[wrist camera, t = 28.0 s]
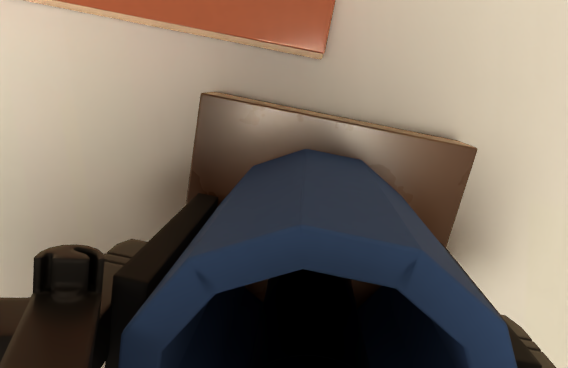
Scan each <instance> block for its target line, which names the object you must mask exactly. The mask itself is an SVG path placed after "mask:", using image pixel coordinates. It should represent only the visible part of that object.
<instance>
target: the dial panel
mask: <svg viewBox="0 0 568 368" xmlns="http://www.w3.org/2000/svg"><path fill="white" fill-rule="evenodd" d="M24 1H29V2H34V3H39V4H44V5H49V6H54V7H59V8H64V9H69V10H74V11H79V12H84V13H89V14H94V15H99V16H104V17H109V18H114V19H119V20H124V21H129V22H134V23H139V24H144V25H149V26H154V27H159V28H164V29H169V30H174V31H179V32H184V33H189V34H194V35H199V36H204V37H210V38H215V39H220V40H225V41H230V42H235V43H240V44H245V45H250V46H255V47H260V48H265V49H270V50H275V51H280V52H285V53H290V54H295V55H300V56H305V57H310V58H315V59H320V60H321V59H322V57H323V55H324V53H325V48H326V43H327V38H328V34H329V29H330V24H331V19H332V15H333V10H334V5H335V0H24Z"/></svg>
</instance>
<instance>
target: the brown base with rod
mask: <svg viewBox="0 0 568 368" xmlns="http://www.w3.org/2000/svg"><path fill="white" fill-rule="evenodd" d="M303 149H310V150H315V151H320V152H325V153H330V154H334V155H339V156H344V157H349V158H354V159H359V160H362V161H363V162H364V163H365V164H367V165H368V166H369V167H370V168H371V169H372V170H373V171H374V172H375V173H377V174H378V175H379V176H380V177H381V178H382V179H383V180H384V181H385V182H387V183H388V184H389V185H390V186H391V187H392V188H393V189H394V190H395V191H397V192H398V193H399V194H400V195H401V196H402V197H403V198H404V200H405V201H406V202H407V203H408V204H409V206H410V207H411V208H412V209H413V210H414V212H415V213H416V214H417V215H418V217H419V218H420V219H421V220H422V221H423V223H424V224H425V225H426V226H427V228H428V229H429V230H430V231H431V232H432V234H433V235H434V236H435V237H436V239H437V240H438V241H439V242H440V243H442V244H443V245H444V247H445V248H446V245H447V242H448V239H449V236H450V233H451V230H452V227H453V224H454V221H455V217H456V214H457V211H458V208H459V205H460V202H461V199H462V196H463V193H464V190H465V187H466V183H467V180H468V177H469V174H470V171H471V168H472V165H473V162H474V159H475V156H476V153H477V148H475V147H473V146H470V145H467V144H465V143H462V142H460V141H457V140H452V139H447V138H442V137H437V136H432V135H427V134H422V133H417V132H412V131H407V130H402V129H397V128H392V127H387V126H382V125H377V124H372V123H367V122H362V121H357V120H353V119H348V118H343V117H338V116H333V115H328V114H323V113H318V112H313V111H308V110H303V109H298V108H293V107H288V106H283V105H278V104H273V103H268V102H263V101H258V100H253V99H248V98H243V97H238V96H233V95H228V94H223V93H218V92H207V93H201V96H200V103H199V111H198V118H197V126H196V133H195V140H194V148H193V155H192V163H191V170H190V177H189V185H188V192H187V200H186V205H187V204H188V203H189V202H190V201H191V200H192V199H193V198H194V197H195V196H196V195H197V194H198V193H201V194H206V195H211V196H216V197H218V203H217V207H218V205H219V204H220V203H221V202H222V201H223V200H224V198H225V197H226V196H227V195H228V194H229V193H230V192H231V190H232V189H233V188H234V187H235V186H236V185H237V184H238V182H239V181H240V180H241V179H242V178H243V177H244V176H245V174H246V173H247V172H248V171H249V170H250V169H251V168H252V167H253V166H254V165H257V164H261V163H264V162H267V161H270V160H273V159H276V158H279V157H282V156H285V155H288V154H291V153H294V152H297V151H300V150H303ZM380 287H381V285H376V284H372V283H367V282H362V281H357V280H352V279H348V278H343V277H338V276H333V275H328V274H324V273H319V272H314V271H309V270H305V269H301V270H298V271H294V272H291V273H287V274H284V275H280V276H277V277H273V278H270V279H266V280H263V281H259V282H255V283H252V284H248V285H245V288H246V289H247V290H248V291H249V292H250V293H252V294H253V295H254V296H255V297H257V298H258V299H259V300H260V301H261V302H263V308H262V312H261V317H260V322H259V326H258V331H257V336H256V340H255V345H254V350H253V354H252V359H251V364H250V368H369V364H368V360H367V355H366V350H365V345H364V341H363V336H362V331H361V326H360V321H359V317H358V312H357V308H359V307H360V306H361V305H362V304H363V303H364V302H365V301H366V300H367V299H368V298H369V297H370V296H371V295H373V294H374V293H375V292H376V291H377V290H378V289H379V288H380Z"/></svg>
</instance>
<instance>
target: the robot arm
mask: <svg viewBox="0 0 568 368" xmlns="http://www.w3.org/2000/svg"><path fill="white" fill-rule="evenodd" d="M217 203H218V197H216V196H211V195H206V194H201V193H198V194H197V195H196V196H195V197H194V198H193V199H192V200H191V201H190V202H189V203H188V204H187V205H186V206H185V207H184V208H183V209H182V210H181V211H180V212H179V213H178V214H176V215H175V216H174V217H173V218H172V219H171V220H170V221H169V222H168V223H167V224H166V225H165V226H164V227H163V228H162V229H161V230H160V231H159V232H158V233H157V234H156V235H155V236H154V237H153V238H152V239H151V240H150V241H148V242H145V241H140V240H135V239H130V240H127V241H124V242H122V243H119V244H117V245H115V246H114V247H113V248H112V249H111V250H109V251H108V252H107V254H103V253H102V252H101V251H99V250H98V249H96V248H93V247H89V246H84V245H61V246H56V247H51V248H48V249H46V250H44V251H41V252H39V253H38V254H37V255H36V256H35V257H34V275H33V294H32V296H31V297H29V298H0V368H101V366H102V365H103V364H104V362H105V361H106V363H105V368H118V364H119V354H120V344H121V334H122V333H123V330H124V328H125V327H126V326H127V325H128V323H129V322H130V321H131V319H132V318H133V317H134V315H135V314H136V313H137V311H138V310H139V309H140V308H141V306H142V305H143V304H144V302H145V301H146V300H147V298H148V297H149V296H150V294H151V293H152V292H153V291H154V289H155V288H156V287H157V285H158V284H159V283H160V281H161V280H162V279H163V277H164V276H165V275H166V274H167V272H168V271H169V270H170V268H171V267H172V266H173V264H174V263H175V262H176V260H177V259H178V258H179V257H180V255H181V254H182V253H183V251H184V250H185V249H186V247H187V246H188V245H189V243H190V242H191V241H192V240H193V238H194V237H195V236H196V234H197V233H198V232H199V230H200V229H201V228H202V226H203V225H204V224H205V223H206V221H207V220H208V219H209V217H210V216H211V215H212V213H213V212H214V211H215V209H216V208H217ZM441 245H442V246H443V247H444V245H443V244H442V243H441ZM444 248H445V247H444ZM445 249H446V248H445ZM446 251H447V252H448V250H447V249H446ZM448 253H449V252H448ZM449 254H450V253H449ZM450 256H451V257H452V258H453V256H452V255H451V254H450ZM453 259H454V258H453ZM454 260H455V259H454ZM455 262H456V263H457V264H458V262H457V261H456V260H455ZM458 265H459V264H458ZM459 267H460V268H461V269H462V267H461V266H460V265H459ZM462 270H463V269H462ZM463 271H464V270H463ZM464 273H465V274H466V275H467V273H466V272H465V271H464ZM467 276H468V275H467ZM468 277H469V276H468ZM469 279H470V280H471V278H470V277H469ZM471 281H472V280H471ZM472 282H473V281H472ZM473 284H474V285H475V286H476V284H475V283H474V282H473ZM476 287H477V286H476ZM477 288H478V287H477ZM478 290H479V291H480V289H479V288H478ZM480 292H481V291H480ZM481 293H482V292H481ZM482 295H483V296H484V297H485V295H484V294H483V293H482ZM485 298H486V297H485ZM486 299H487V298H486ZM487 301H488V302H489V300H488V299H487ZM489 303H490V302H489ZM490 304H491V303H490ZM491 306H492V307H493V308H494V306H493V305H492V304H491ZM494 309H495V308H494ZM495 310H496V309H495ZM496 312H497V313H498V311H497V310H496ZM498 314H499V313H498ZM499 315H500V314H499ZM500 316H501V318H502V319H503V320H504V321H505V323H506V325H507V327H508V331H509V335H510V339H511V344H512V348H513V352H514V356H515V360H516V364H517V368H556V367H555V366H554V365H553V363H552V362H551V361H550V360H549V359H548V358H547V356H546V355H545V354H544V353H543V352H541V350H540V348H539V347H538V346H537V345H536V344H535V343H534V342H532V339H531V338H530V337H529V336H528V334H527V333H526V332H525V331H524V330H523V329H522V328H521V327H520V326H519V325H518V324H516V323H515V322H513V321H512V320H511V319H509V318H508V317H507V316H505V315H500Z"/></svg>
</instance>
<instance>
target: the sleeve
mask: <svg viewBox="0 0 568 368" xmlns="http://www.w3.org/2000/svg"><path fill="white" fill-rule="evenodd" d="M301 269H305V270H309V271H314V272H319V273H324V274H328V275H333V276H338V277H343V278H348V279H352V280H357V281H362V282H367V283H372V284H376V285H381V287H380V288H379V289H378V290H377V291H376V292H375V293H374V294H373V295H371V296H370V297H369V298H368V299H367V300H366V301H365V302H364V303H363V304H362V305H361V306H360V307H359V308H357V312H358V317H359V321H360V326H361V331H362V336H363V341H364V345H365V350H366V355H367V360H368V364H369V368H517V364H516V360H515V356H514V352H513V348H512V344H511V339H510V335H509V331H508V327H507V325H506V323H505V321H504V320H503V319H502V318H501V316H500V315H499V314H498V313H497V312H496V310H495V309H494V308H493V307H492V306H491V304H490V303H489V302H488V301H487V299H486V298H485V297H484V296H483V295H482V293H481V292H480V291H479V290H478V288H477V287H476V286H475V285H474V284H473V282H472V281H471V280H470V279H469V277H468V276H467V275H466V274H465V273H464V271H463V270H462V269H461V268H460V267H459V265H458V264H457V263H456V262H455V260H454V259H453V258H452V257H451V256H450V254H449V253H448V252H447V251H446V249H445V248H444V247H443V246H442V245H441V243H440V242H439V241H438V240H437V239H436V237H435V236H434V235H433V234H432V232H431V231H430V230H429V229H428V228H427V226H426V225H425V224H424V223H423V221H422V220H421V219H420V218H419V217H418V215H417V214H416V213H415V212H414V210H413V209H412V208H411V207H410V206H409V204H408V203H407V202H406V201H405V200H404V198H403V197H402V196H401V195H400V194H399V193H398V192H397V191H395V190H394V189H393V188H392V187H391V186H390V185H389V184H388V183H387V182H385V181H384V180H383V179H382V178H381V177H380V176H379V175H378V174H377V173H375V172H374V171H373V170H372V169H371V168H370V167H369V166H368V165H367V164H365V163H364V162H363V161H362V160H359V159H354V158H349V157H344V156H339V155H334V154H330V153H325V152H320V151H315V150H310V149H303V150H300V151H297V152H294V153H291V154H288V155H285V156H282V157H279V158H276V159H273V160H270V161H267V162H264V163H261V164H257V165H254V166H253V167H252V168H251V169H250V170H249V171H248V172H247V173H246V174H245V176H244V177H243V178H242V179H241V180H240V181H239V182H238V184H237V185H236V186H235V187H234V188H233V189H232V190H231V192H230V193H229V194H228V195H227V196H226V197H225V198H224V200H223V201H222V202H221V203H220V204H219V205H218V207H217V208H216V209H215V211H214V212H213V213H212V215H211V216H210V217H209V219H208V220H207V221H206V223H205V224H204V225H203V226H202V228H201V229H200V230H199V232H198V233H197V234H196V236H195V237H194V238H193V240H192V241H191V242H190V243H189V245H188V246H187V247H186V249H185V250H184V251H183V253H182V254H181V255H180V257H179V258H178V259H177V260H176V262H175V263H174V264H173V266H172V267H171V268H170V270H169V271H168V272H167V274H166V275H165V276H164V277H163V279H162V280H161V281H160V283H159V284H158V285H157V287H156V288H155V289H154V291H153V292H152V293H151V294H150V296H149V297H148V298H147V300H146V301H145V302H144V304H143V305H142V306H141V308H140V309H139V310H138V311H137V313H136V314H135V315H134V317H133V318H132V319H131V321H130V322H129V323H128V325H127V326H126V327H125V328H124V330H123V333H122V334H121V344H120V354H119V364H118V368H250V364H251V359H252V354H253V350H254V345H255V340H256V336H257V331H258V326H259V322H260V317H261V312H262V308H263V302H261V301H260V300H259V299H258V298H257V297H255V296H254V295H253V294H252V293H250V292H249V291H248V290H247V289H246V288H245V285H248V284H252V283H255V282H259V281H263V280H266V279H270V278H273V277H277V276H280V275H284V274H287V273H291V272H294V271H298V270H301Z"/></svg>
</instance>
